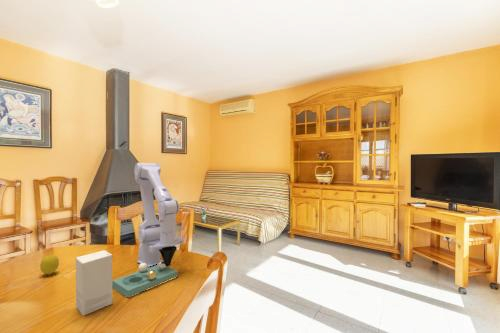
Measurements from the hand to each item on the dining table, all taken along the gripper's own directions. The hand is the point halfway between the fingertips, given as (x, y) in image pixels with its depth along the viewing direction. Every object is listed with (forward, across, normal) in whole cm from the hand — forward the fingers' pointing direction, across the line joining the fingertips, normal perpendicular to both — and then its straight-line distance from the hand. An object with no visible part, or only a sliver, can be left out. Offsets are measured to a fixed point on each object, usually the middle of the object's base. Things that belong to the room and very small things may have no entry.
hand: (167, 265), depth 97 cm
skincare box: (+4, -27, -2) cm, 27 cm away
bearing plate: (+3, -9, 0) cm, 9 cm away
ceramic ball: (-1, -8, +4) cm, 9 cm away
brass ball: (-1, -9, -4) cm, 10 cm away
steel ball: (-1, -3, 0) cm, 3 cm away
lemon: (+4, -28, +34) cm, 45 cm away
